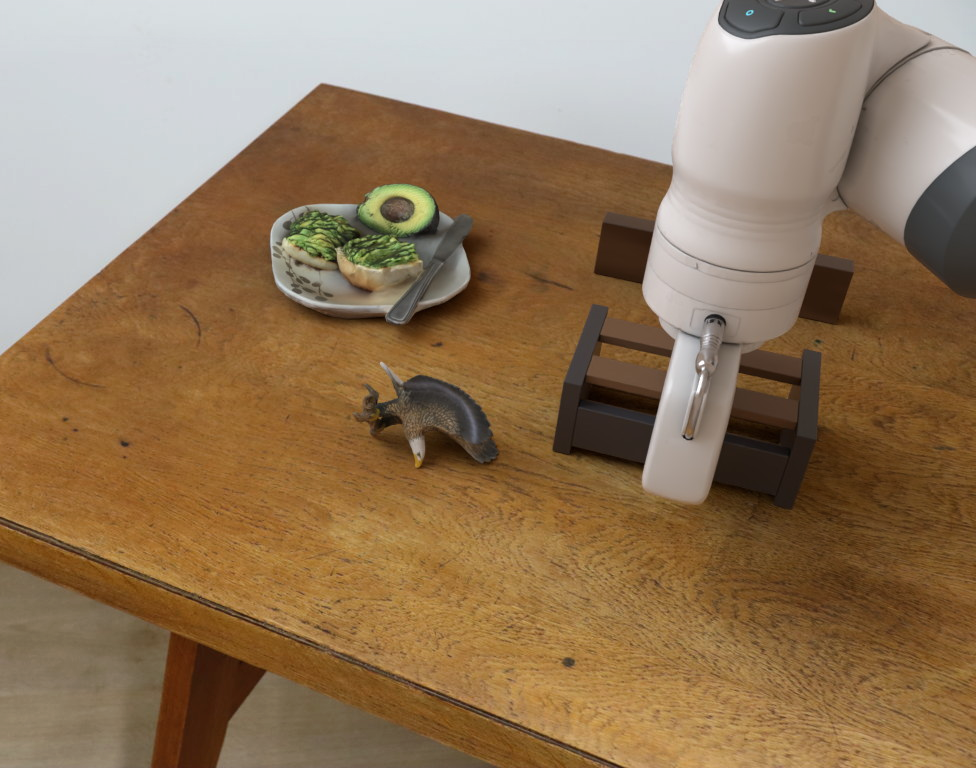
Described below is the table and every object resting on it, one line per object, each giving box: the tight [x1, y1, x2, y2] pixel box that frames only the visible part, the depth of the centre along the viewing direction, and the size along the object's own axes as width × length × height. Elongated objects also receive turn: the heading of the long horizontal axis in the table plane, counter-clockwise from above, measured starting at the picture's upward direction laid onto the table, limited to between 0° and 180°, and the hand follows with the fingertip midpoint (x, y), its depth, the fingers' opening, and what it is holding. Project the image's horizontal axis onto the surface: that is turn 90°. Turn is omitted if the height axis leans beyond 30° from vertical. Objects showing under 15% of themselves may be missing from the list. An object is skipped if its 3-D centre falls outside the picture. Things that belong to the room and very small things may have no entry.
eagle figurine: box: [352, 361, 500, 469], centre depth 74 cm, size 8×7×9 cm
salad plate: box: [268, 183, 474, 327], centre depth 91 cm, size 19×18×5 cm
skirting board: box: [593, 211, 855, 325], centre depth 92 cm, size 2×20×5 cm, turn 71°
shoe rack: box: [551, 303, 823, 510], centre depth 76 cm, size 10×16×6 cm, turn 71°
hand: (677, 459), depth 71 cm, fingers closed
